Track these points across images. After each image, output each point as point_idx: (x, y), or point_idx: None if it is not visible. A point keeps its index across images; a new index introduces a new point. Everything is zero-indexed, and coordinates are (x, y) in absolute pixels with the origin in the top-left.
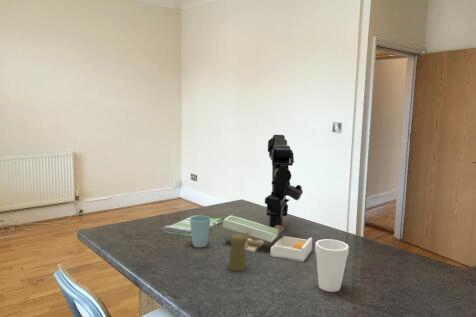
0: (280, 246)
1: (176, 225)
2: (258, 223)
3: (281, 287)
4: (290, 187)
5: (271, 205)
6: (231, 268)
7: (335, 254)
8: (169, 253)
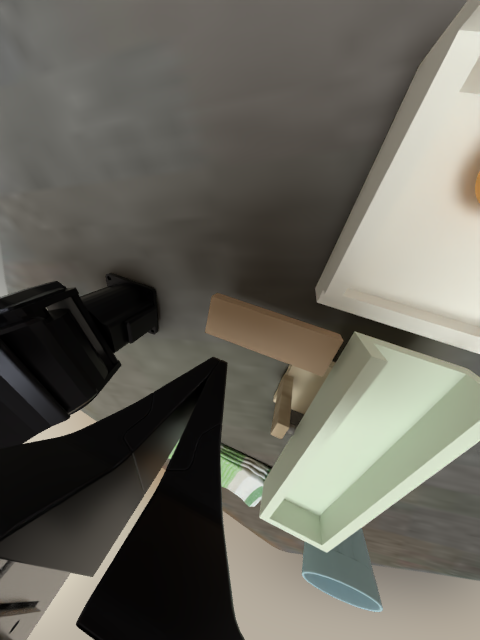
0: None
1: (226, 484)
2: (310, 449)
3: None
4: None
5: (74, 398)
6: None
7: None
8: (391, 524)
